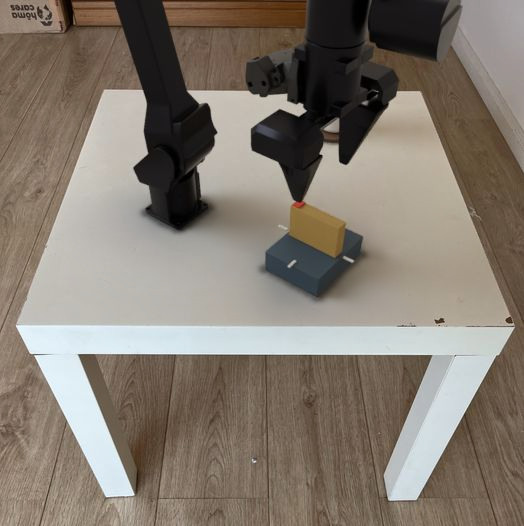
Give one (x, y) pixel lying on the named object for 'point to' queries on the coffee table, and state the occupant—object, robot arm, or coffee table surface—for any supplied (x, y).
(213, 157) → the coffee table surface
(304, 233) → the tap handle
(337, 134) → the coaster
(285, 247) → the base
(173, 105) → the robot arm
